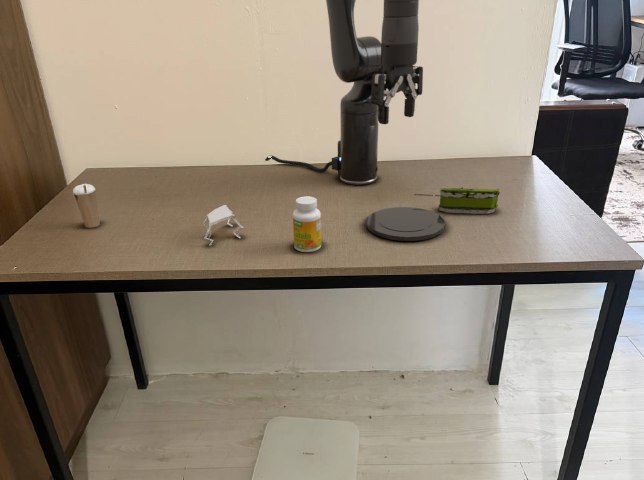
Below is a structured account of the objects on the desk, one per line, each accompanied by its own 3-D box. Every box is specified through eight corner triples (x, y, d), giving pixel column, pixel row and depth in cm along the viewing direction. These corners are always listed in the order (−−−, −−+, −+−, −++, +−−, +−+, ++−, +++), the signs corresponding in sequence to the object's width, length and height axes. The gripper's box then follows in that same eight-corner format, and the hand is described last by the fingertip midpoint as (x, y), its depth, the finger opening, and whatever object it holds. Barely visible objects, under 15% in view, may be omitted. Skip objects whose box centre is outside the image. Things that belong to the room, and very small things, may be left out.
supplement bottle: (289, 250, 111) (287, 203, 106) (300, 239, 115) (298, 193, 110) (315, 254, 109) (314, 206, 104) (325, 243, 113) (324, 196, 108)
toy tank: (502, 195, 117) (499, 171, 124) (409, 193, 121) (412, 169, 128) (497, 224, 122) (495, 198, 129) (408, 220, 126) (410, 196, 133)
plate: (369, 243, 112) (369, 237, 112) (363, 213, 126) (364, 207, 125) (451, 241, 112) (452, 235, 111) (436, 211, 125) (437, 205, 125)
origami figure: (244, 244, 114) (242, 221, 111) (202, 247, 113) (199, 224, 111) (245, 221, 124) (243, 200, 121) (207, 224, 124) (204, 202, 121)
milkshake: (84, 232, 122) (72, 187, 117) (80, 223, 126) (69, 180, 121) (105, 227, 124) (95, 183, 119) (101, 219, 128) (91, 176, 123)
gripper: (407, 35, 124) (403, 112, 133) (362, 42, 116) (361, 123, 125) (435, 37, 119) (430, 116, 128) (390, 45, 111) (387, 128, 120)
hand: (396, 120), depth 126 cm, fingers open, 8 cm apart
